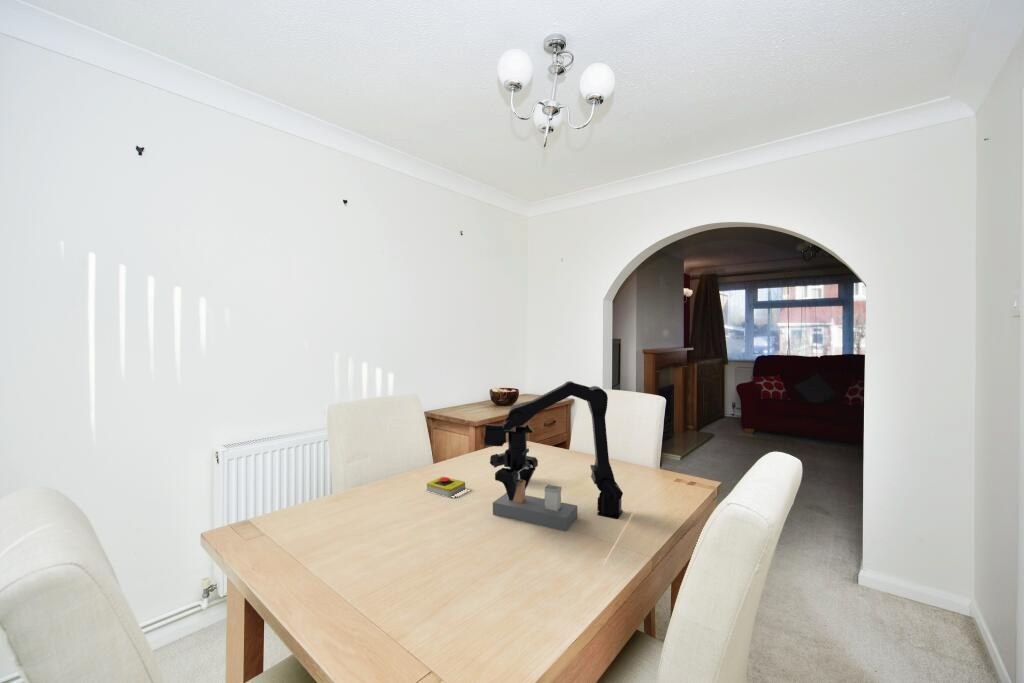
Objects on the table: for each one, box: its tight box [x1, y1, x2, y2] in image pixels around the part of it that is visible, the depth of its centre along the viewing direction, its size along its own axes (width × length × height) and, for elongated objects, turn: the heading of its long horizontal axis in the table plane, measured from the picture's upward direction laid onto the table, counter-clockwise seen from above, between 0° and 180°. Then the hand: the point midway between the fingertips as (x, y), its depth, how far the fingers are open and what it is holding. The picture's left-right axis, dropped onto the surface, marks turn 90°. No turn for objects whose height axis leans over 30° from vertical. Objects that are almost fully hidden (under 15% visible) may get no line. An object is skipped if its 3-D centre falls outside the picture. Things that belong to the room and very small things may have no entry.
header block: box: [492, 492, 578, 532], centre depth 134 cm, size 24×10×4 cm, turn 63°
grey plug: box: [544, 484, 562, 511], centre depth 131 cm, size 4×3×10 cm
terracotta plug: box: [509, 479, 526, 504], centre depth 137 cm, size 4×3×10 cm
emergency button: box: [426, 476, 467, 499], centre depth 156 cm, size 9×4×15 cm
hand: (517, 495), depth 137 cm, fingers open, 8 cm apart
